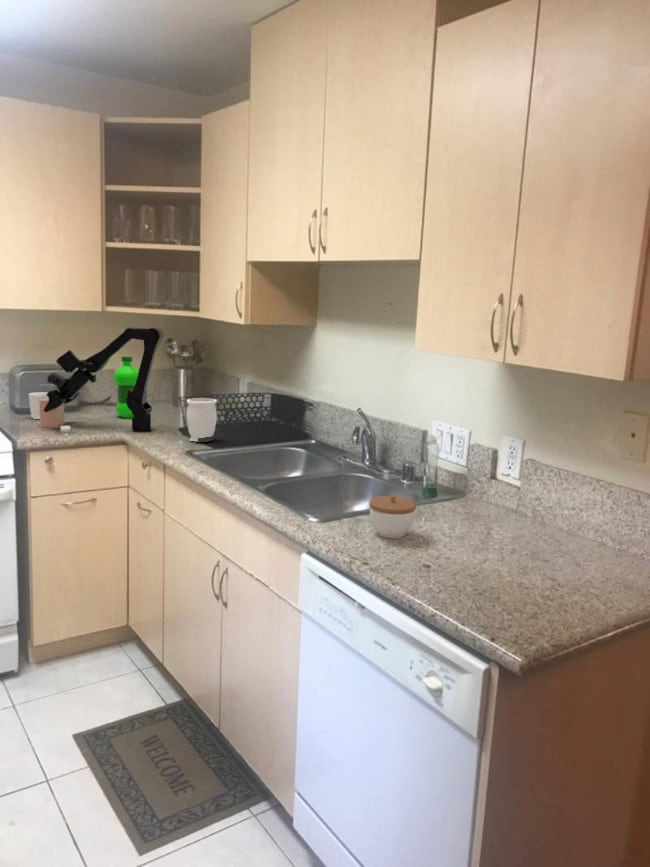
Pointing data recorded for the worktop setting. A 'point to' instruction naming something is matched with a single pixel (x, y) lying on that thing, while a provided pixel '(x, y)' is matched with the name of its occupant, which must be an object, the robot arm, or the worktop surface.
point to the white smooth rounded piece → (65, 429)
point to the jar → (201, 417)
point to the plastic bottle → (125, 385)
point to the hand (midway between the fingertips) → (48, 409)
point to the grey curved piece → (65, 433)
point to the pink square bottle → (51, 415)
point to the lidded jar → (392, 515)
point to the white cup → (36, 403)
